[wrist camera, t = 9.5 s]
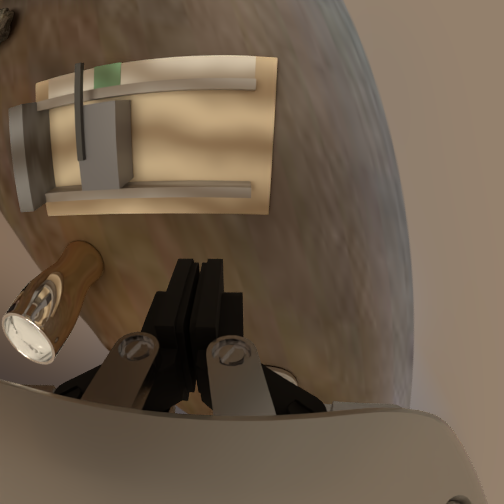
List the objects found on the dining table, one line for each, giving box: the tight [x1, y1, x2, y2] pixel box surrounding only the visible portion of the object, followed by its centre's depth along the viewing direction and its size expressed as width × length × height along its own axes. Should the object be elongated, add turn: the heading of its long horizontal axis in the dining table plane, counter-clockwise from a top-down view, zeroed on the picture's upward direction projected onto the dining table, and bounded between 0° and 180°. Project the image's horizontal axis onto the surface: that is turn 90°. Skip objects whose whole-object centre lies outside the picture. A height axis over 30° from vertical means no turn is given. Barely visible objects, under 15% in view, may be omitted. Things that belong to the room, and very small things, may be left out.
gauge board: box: [9, 55, 277, 216], centre depth 25 cm, size 16×26×6 cm, turn 88°
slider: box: [74, 63, 133, 191], centre depth 23 cm, size 12×4×5 cm, turn 178°
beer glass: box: [2, 241, 103, 364], centre depth 28 cm, size 7×7×15 cm
